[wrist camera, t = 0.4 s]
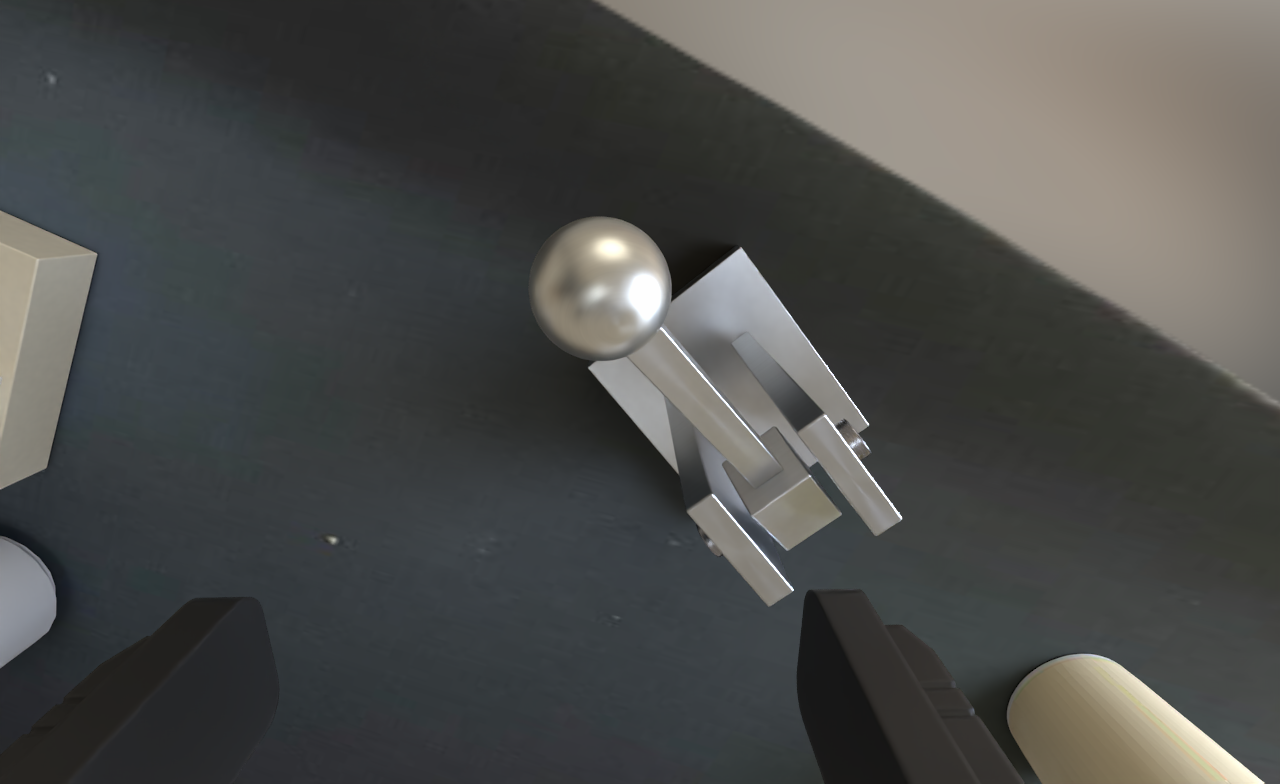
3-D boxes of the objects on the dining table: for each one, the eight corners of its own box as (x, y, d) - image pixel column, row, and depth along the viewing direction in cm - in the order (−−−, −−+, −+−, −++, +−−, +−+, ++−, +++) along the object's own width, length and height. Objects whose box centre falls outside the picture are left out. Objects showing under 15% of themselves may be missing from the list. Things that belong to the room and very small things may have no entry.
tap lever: (491, 256, 14) (506, 325, 12) (596, 166, 14) (636, 218, 11) (740, 499, 22) (780, 570, 20) (813, 449, 22) (863, 515, 19)
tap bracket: (588, 361, 30) (562, 471, 18) (736, 244, 28) (820, 277, 16) (719, 516, 33) (775, 704, 20) (861, 417, 31) (1013, 557, 19)
